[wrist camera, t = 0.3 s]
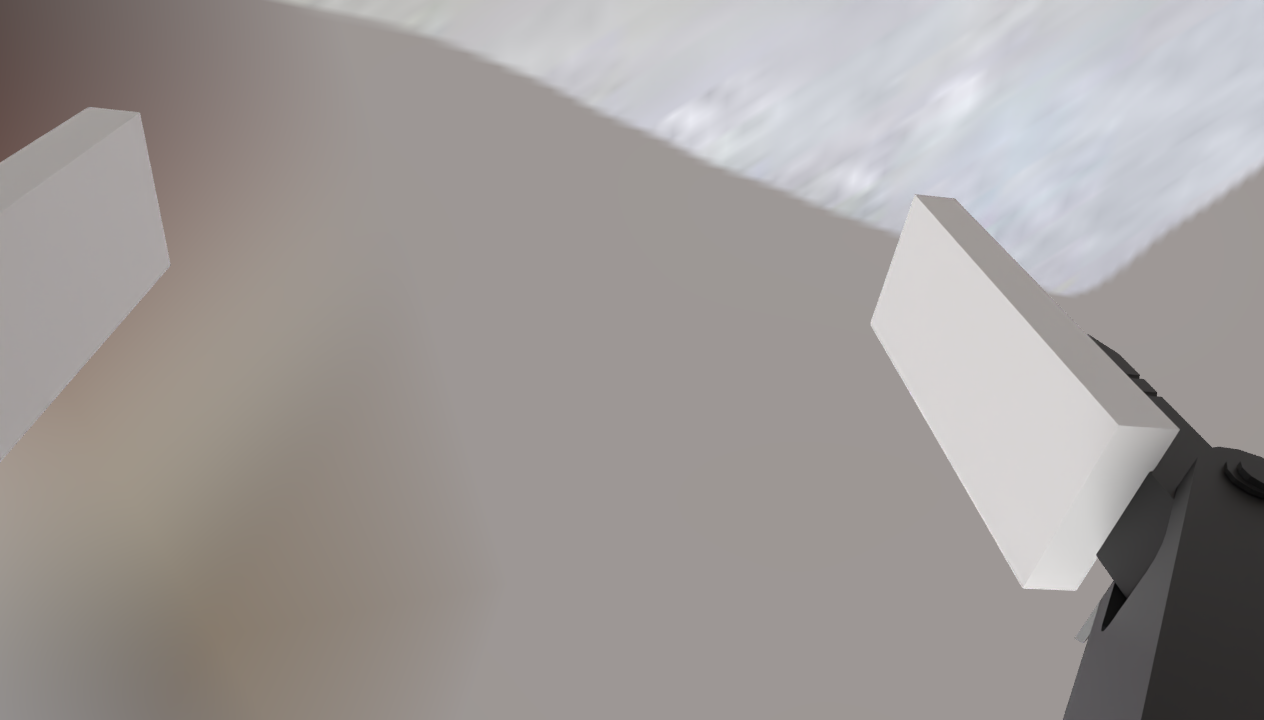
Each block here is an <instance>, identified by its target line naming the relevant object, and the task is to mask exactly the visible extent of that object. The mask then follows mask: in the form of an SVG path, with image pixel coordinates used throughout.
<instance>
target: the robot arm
mask: <svg viewBox="0 0 1264 720" xmlns="http://www.w3.org/2000/svg"><path fill="white" fill-rule="evenodd" d="M169 267H170V260H169V255H168V250H167V245H166V240H165V235H164V230H163V225H162V220H161V215H160V210H159V205H158V200H157V195H156V190H155V185H154V180H153V176H152V170H151V165H150V161H149V156H148V151H147V146H146V141H145V136H144V131H143V126H142V121H141V116H140V112H130V111H121V110H112V109H102V108H93V107H88V108H86V109H85V110H83V111H82V112H80V113H78V114H77V115H75V116H74V117H72V118H70V119H69V120H67V121H66V122H64V123H62V124H61V125H59V126H58V127H56V128H54V129H53V130H51V131H50V132H48V133H46V134H45V135H43V136H42V137H40V138H39V139H37V140H36V141H34V142H32V143H31V144H29V145H27V146H26V147H24V148H23V149H21V150H19V151H18V152H16V153H15V154H13V155H12V156H10V157H8V158H7V159H5V160H4V161H2V162H0V462H1V461H2V460H3V458H4V457H5V456H6V455H7V454H8V453H9V451H10V450H11V449H12V448H13V447H14V445H15V444H16V443H17V442H18V441H19V440H20V439H21V438H22V436H23V435H24V434H25V433H26V432H27V430H28V429H29V428H30V427H31V426H32V425H33V424H34V422H35V421H36V420H37V419H38V418H39V417H40V416H41V414H42V413H43V412H44V411H45V410H46V409H47V407H48V406H49V405H50V404H51V403H52V402H53V401H54V399H55V398H56V397H57V396H58V395H59V393H60V392H61V391H62V390H63V389H64V388H65V387H66V386H67V384H68V383H69V382H70V381H71V380H72V379H73V378H74V376H75V375H76V374H77V373H78V372H79V371H80V369H81V368H82V367H83V366H84V365H85V364H86V362H87V361H88V360H89V359H90V358H91V357H92V356H93V354H94V353H95V352H96V351H97V350H98V348H99V347H100V346H101V345H102V344H103V343H104V342H105V341H106V339H107V338H108V337H109V336H110V335H111V334H112V332H113V331H114V330H115V329H116V328H117V327H118V326H119V324H120V323H121V322H122V321H123V320H124V319H125V317H126V316H127V315H128V314H129V313H130V312H131V310H132V309H133V308H134V307H135V306H136V305H137V304H138V302H139V301H140V300H141V299H142V298H143V297H144V295H145V294H146V293H147V292H148V291H149V290H150V289H151V287H152V286H153V285H154V284H155V283H156V282H157V280H158V279H159V278H160V277H161V276H162V275H163V274H164V272H165V271H166V270H167V269H168V268H169ZM870 324H871V326H872V328H873V330H874V332H875V333H876V335H877V337H878V338H879V340H880V342H881V343H882V345H883V347H884V349H885V351H886V352H887V354H888V356H889V358H890V359H891V361H892V363H893V364H894V366H895V368H896V370H897V371H898V373H899V375H900V377H901V378H902V380H903V382H904V384H905V385H906V387H907V389H908V390H909V392H910V394H911V396H912V397H913V399H914V401H915V403H916V404H917V406H918V408H919V409H920V411H921V413H922V415H923V417H924V418H925V420H926V422H927V423H928V425H929V427H930V429H931V430H932V432H933V433H934V435H935V437H936V439H937V441H938V442H939V444H940V446H941V448H942V449H943V451H944V453H945V455H946V456H947V458H948V460H949V462H950V463H951V465H952V467H953V469H954V470H955V472H956V474H957V475H958V477H959V479H960V481H961V482H962V484H963V486H964V487H965V489H966V491H967V493H968V495H969V496H970V498H971V500H972V501H973V503H974V505H975V507H976V508H977V510H978V512H979V514H980V515H981V517H982V518H983V520H984V522H985V524H986V526H987V527H988V529H989V531H990V533H991V534H992V536H993V538H994V539H995V541H996V543H997V545H998V547H999V548H1000V550H1001V552H1002V554H1003V555H1004V557H1005V559H1006V560H1007V562H1008V564H1009V566H1010V567H1011V569H1012V571H1013V573H1014V574H1015V576H1016V578H1017V580H1018V581H1019V583H1020V585H1021V586H1022V588H1025V589H1026V588H1027V589H1049V590H1051V589H1052V590H1072V591H1076V590H1077V588H1078V587H1079V585H1080V584H1081V582H1082V581H1083V579H1084V577H1085V576H1086V575H1087V573H1088V571H1089V570H1090V568H1091V567H1092V565H1093V564H1094V562H1095V560H1096V559H1097V558H1098V559H1099V560H1100V561H1101V563H1102V564H1103V566H1104V567H1105V569H1106V570H1107V571H1108V573H1109V574H1110V576H1111V577H1112V579H1113V580H1114V581H1113V583H1112V584H1111V586H1110V587H1109V588H1108V590H1107V592H1106V593H1105V594H1104V596H1103V598H1102V599H1101V600H1100V602H1099V603H1098V605H1097V606H1096V608H1095V609H1094V611H1093V612H1092V614H1091V615H1090V617H1089V618H1088V619H1087V621H1086V622H1085V624H1084V625H1083V627H1082V628H1081V630H1080V631H1079V633H1078V634H1077V636H1076V637H1075V639H1077V640H1078V641H1080V642H1082V643H1084V642H1085V641H1086V640H1087V639H1088V641H1087V645H1086V648H1085V651H1084V654H1083V657H1082V660H1081V664H1080V667H1079V670H1078V673H1077V676H1076V680H1075V683H1074V686H1073V689H1072V692H1071V696H1070V699H1069V702H1068V705H1067V708H1066V711H1065V715H1064V718H1063V720H1264V458H1262V457H1259V456H1256V455H1253V454H1250V453H1247V452H1244V451H1241V450H1238V449H1231V448H1223V447H1214V448H1212V447H1211V446H1210V445H1209V444H1208V443H1207V442H1206V441H1205V440H1204V439H1203V438H1202V437H1201V436H1200V435H1199V434H1198V433H1197V432H1196V431H1195V430H1194V429H1193V428H1192V427H1191V426H1190V425H1189V424H1188V423H1187V422H1186V421H1185V420H1184V419H1183V418H1182V417H1181V416H1180V415H1179V414H1178V413H1177V412H1176V411H1175V410H1174V409H1173V408H1172V407H1171V406H1170V405H1169V404H1168V403H1167V402H1166V401H1165V400H1164V399H1163V398H1162V397H1157V392H1156V391H1155V390H1154V389H1153V388H1152V387H1151V386H1150V385H1149V384H1148V383H1147V382H1146V381H1145V380H1144V379H1139V376H1140V375H1139V374H1138V373H1137V372H1136V371H1135V370H1134V369H1133V368H1132V367H1131V366H1130V365H1129V364H1128V363H1127V362H1126V361H1125V360H1124V359H1123V358H1122V357H1121V356H1120V355H1119V354H1118V353H1116V352H1115V351H1113V350H1112V349H1110V348H1109V347H1107V346H1106V345H1104V344H1102V343H1101V342H1099V341H1098V340H1096V339H1095V338H1093V337H1091V336H1090V335H1088V334H1086V333H1085V332H1084V331H1083V330H1082V329H1081V328H1080V327H1079V326H1078V324H1077V323H1075V322H1074V320H1073V319H1071V317H1070V316H1069V315H1068V314H1067V313H1066V312H1065V311H1064V310H1063V309H1062V308H1061V307H1060V306H1059V305H1058V304H1057V303H1056V302H1055V301H1054V300H1053V299H1052V298H1051V297H1050V296H1049V295H1048V294H1047V293H1046V292H1045V291H1044V290H1043V289H1042V288H1041V287H1040V285H1039V284H1038V283H1037V282H1036V281H1035V280H1034V279H1033V278H1032V277H1031V276H1030V275H1029V274H1028V273H1027V272H1026V271H1025V270H1024V269H1023V268H1022V267H1021V266H1020V265H1019V264H1018V263H1017V262H1016V261H1015V260H1014V259H1013V258H1012V257H1011V256H1010V255H1009V254H1008V253H1007V252H1006V251H1005V250H1004V249H1003V248H1002V246H1001V245H1000V244H999V243H998V242H997V241H996V240H995V239H994V238H993V237H992V236H991V235H990V234H989V233H988V232H987V231H986V230H985V229H984V228H983V227H982V226H981V225H980V224H979V223H978V222H977V221H976V220H975V219H974V218H973V217H972V216H971V215H970V214H969V213H968V212H967V211H966V210H965V209H964V207H963V206H962V205H961V204H960V203H959V202H958V201H957V200H956V199H954V198H945V197H935V196H926V195H916V194H915V196H914V198H913V201H912V204H911V207H910V210H909V213H908V216H907V219H906V222H905V225H904V227H903V230H902V233H901V236H900V239H899V242H898V245H897V248H896V251H895V254H894V256H893V259H892V263H891V265H890V268H889V271H888V274H887V277H886V280H885V283H884V285H883V288H882V291H881V294H880V297H879V300H878V303H877V306H876V309H875V312H874V315H873V317H872V320H871V323H870Z"/></svg>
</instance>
